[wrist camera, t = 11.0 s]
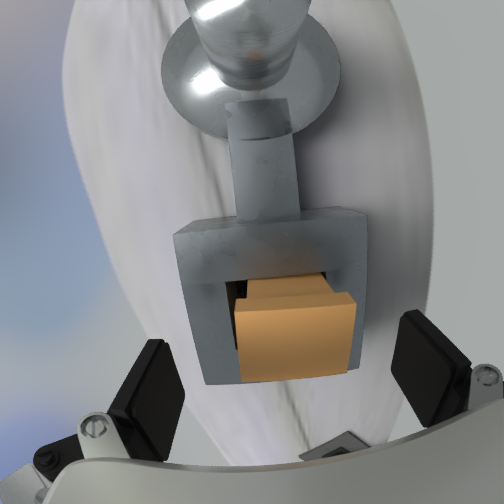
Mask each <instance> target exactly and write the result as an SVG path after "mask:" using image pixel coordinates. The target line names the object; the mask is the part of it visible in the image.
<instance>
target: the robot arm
mask: <svg viewBox="0 0 504 504" xmlns="http://www.w3.org/2000/svg"><path fill="white" fill-rule="evenodd" d="M471 364H472V363H471V361H470V360H469V359H468V358H467V357H466V356H465V355H464V354H463V353H462V352H461V351H460V350H459V349H458V348H457V347H456V346H455V345H454V344H453V343H452V342H451V341H450V340H449V339H448V338H447V337H446V336H445V335H444V334H443V333H442V332H441V331H440V330H439V329H438V328H437V327H436V326H435V325H434V324H433V323H432V322H431V321H430V320H429V319H428V318H426V317H425V316H424V315H423V314H422V313H421V312H420V311H419V310H418V309H416V310H411V311H407V312H405V313H404V314H403V316H401V318H400V322H399V329H398V334H397V340H396V345H395V350H394V355H393V359H392V364H391V372H392V375H393V376H394V378H395V380H396V381H397V383H398V385H399V386H400V388H401V390H402V391H403V393H404V395H405V396H406V398H407V400H408V402H409V403H410V405H411V407H412V408H413V410H414V412H415V414H416V415H417V417H418V419H419V420H420V423H421V424H422V425H423V427H427V429H424V430H422V431H419V432H417V433H414V434H411V435H409V436H406V437H403V438H400V439H397V440H394V441H391V442H388V443H385V444H381V445H378V446H375V447H371V448H367V449H363V450H360V451H356V452H351V453H347V454H343V455H338V456H333V457H328V458H322V459H316V460H310V461H303V462H296V463H287V464H276V465H263V466H234V467H227V466H226V467H225V466H224V467H223V466H198V465H182V464H172V463H163V461H167V460H168V457H169V454H170V450H171V446H172V442H173V439H174V435H175V431H176V427H177V424H178V420H179V417H180V413H181V410H182V406H183V403H184V399H185V391H184V388H183V385H182V382H181V380H180V377H179V374H178V371H177V368H176V365H175V362H174V359H173V356H172V353H171V349H170V346H169V344H168V343H165V342H164V340H163V339H149V340H148V341H147V343H146V344H145V346H144V348H143V349H142V351H141V353H140V355H139V356H138V358H137V360H136V361H135V363H134V365H133V367H132V368H131V370H130V372H129V373H128V375H127V377H126V379H125V381H124V382H123V384H122V386H121V388H120V389H119V391H118V393H117V395H116V397H115V398H114V400H113V402H112V404H111V406H110V408H109V410H108V411H107V413H103V412H92V413H89V414H87V415H85V416H84V417H83V418H81V419H80V421H79V422H78V425H77V434H74V435H72V436H69V437H67V438H64V439H62V440H59V441H56V442H54V443H51V444H48V445H45V446H43V447H41V448H39V449H38V450H37V451H36V453H35V454H34V458H33V464H30V462H28V463H27V464H25V465H24V466H22V467H21V468H19V469H18V470H16V471H15V472H13V473H12V474H10V475H9V476H7V477H6V478H4V479H3V480H1V481H0V498H1V500H2V502H3V504H504V381H503V377H502V373H501V372H500V370H499V369H498V368H497V367H495V366H493V365H490V364H480V365H478V366H476V367H474V369H472V368H471V367H470V366H471Z"/></svg>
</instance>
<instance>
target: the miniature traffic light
mask: <svg viewBox="0 0 504 504" xmlns="http://www.w3.org/2000/svg"><path fill="white" fill-rule="evenodd" d="M367 448H371V447H370V446H368V445H367V444H365V443H364V442H362V441H361V440H360V439H358V438H357V437H355V436H354V435H353V434H351V433H350V432H349V431H347V432H345V433H343V434H342V435H340V436H338V437H336V438H334V439H332V440H330V441H328V442H326V443H324V444H322V445H320V446H318V447H316V448H314V449H312V450H310V451H308V452H306V453H304V454H301V455H299V458H300V459H302V460H304V461H310V460H316V459H322V458H328V457H333V456H338V455H343V454H347V453H351V452H356V451H360V450H363V449H367Z"/></svg>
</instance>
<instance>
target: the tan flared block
mask: <svg viewBox="0 0 504 504" xmlns="http://www.w3.org/2000/svg"><path fill="white" fill-rule="evenodd" d="M356 306H357V303H356V302H355V301H354V299H353V298H352V297H351V296H350V294H349V293H348V292H341V293H334V292H333V290H332V289H331V287H330V286H329V284H328V283H327V281H326V280H325V279H324V277H323V276H322V274H321V273H320V272H315V273H306V274H297V275H288V276H279V277H269V278H259V279H249V280H248V286H247V299H236V304H235V311H234V313H235V324H236V335H237V346H238V356H239V366H240V375H241V382H258V381H277V380H291V379H302V378H312V377H321V376H329V375H336V374H343V373H347V369H348V363H349V357H350V351H351V345H352V338H353V331H354V323H355V315H356Z"/></svg>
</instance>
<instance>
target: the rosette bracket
mask: <svg viewBox="0 0 504 504" xmlns="http://www.w3.org/2000/svg"><path fill="white" fill-rule="evenodd" d="M185 4H186V6H187V9H188V11H189V13H190V16H191V17H190V18H189V19H187V20H186V21H185V22H184V23H183V24H182V25H181V26H180V27H179V28H178V29H177V30H176V32H175V33H174V34H173V36H172V37H171V39H170V41H169V42H168V44H167V46H166V49H165V52H164V55H163V59H162V66H161V76H162V83H163V87H164V90H165V93H166V95H167V97H168V99H169V101H170V102H171V104H172V105H173V107H174V108H175V109H176V111H177V112H178V113H179V114H180V115H181V116H182V117H183V118H184V119H186V120H187V121H188V122H189V123H190V124H192V125H193V126H194V127H196V128H197V129H199V130H201V131H202V132H204V133H206V134H209V135H211V136H213V137H216V138H219V139H222V140H226V141H229V149H230V158H231V167H232V176H233V185H234V194H235V202H236V211H237V216H231V217H223V218H214V219H206V220H198V221H193V222H191V223H190V224H188V225H186V226H185V227H183V228H182V229H180V230H179V231H177V232H176V233H174V234H173V241H174V247H175V253H176V258H177V264H178V269H179V275H180V280H181V285H182V290H183V295H184V299H185V304H186V309H187V313H188V318H189V322H190V326H191V330H192V335H193V339H194V343H195V347H196V351H197V355H198V358H199V362H200V366H201V370H202V373H203V377H204V381H205V384H206V385H226V384H246V383H260V382H272V381H258V382H241V375H240V366H239V356H238V346H237V335H236V324H235V313H234V311H235V304H236V299H238V295H237V288H236V281H239V280H249V279H259V278H269V277H279V276H288V275H297V274H306V273H315V272H320V273H321V274H322V276H323V277H324V279H325V280H326V281H327V283H328V284H329V286H330V287H331V289H332V290H333V292H334V293H341V292H348V293H349V294H350V296H351V297H352V298H353V299H354V301H355V302H356V303H357V306H356V315H355V323H354V331H353V338H352V345H351V351H350V357H349V363H348V369H347V371H348V370H353V369H358V368H359V365H360V358H361V349H362V340H363V331H364V319H365V306H366V287H367V215H364V214H361V213H358V212H355V211H352V210H349V209H345V208H342V207H326V208H313V209H301V210H300V205H299V193H298V183H297V173H296V163H295V154H294V145H293V137H292V134H295V133H297V132H298V131H300V130H302V129H304V128H305V127H307V126H308V125H309V124H311V123H312V122H313V121H314V120H315V119H316V118H317V117H318V116H319V115H321V114H322V113H323V112H324V111H325V109H326V108H327V107H328V105H329V104H330V103H331V101H332V99H333V97H334V95H335V94H336V91H337V88H338V85H339V80H340V60H339V55H338V52H337V49H336V46H335V44H334V42H333V40H332V38H331V37H330V35H329V34H328V32H327V31H326V30H325V29H324V28H323V27H322V25H321V24H320V23H319V22H317V21H316V20H315V19H314V18H313V17H312V16H310V15H309V14H307V13H308V10H309V7H310V4H311V0H185ZM277 381H282V380H277Z"/></svg>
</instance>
